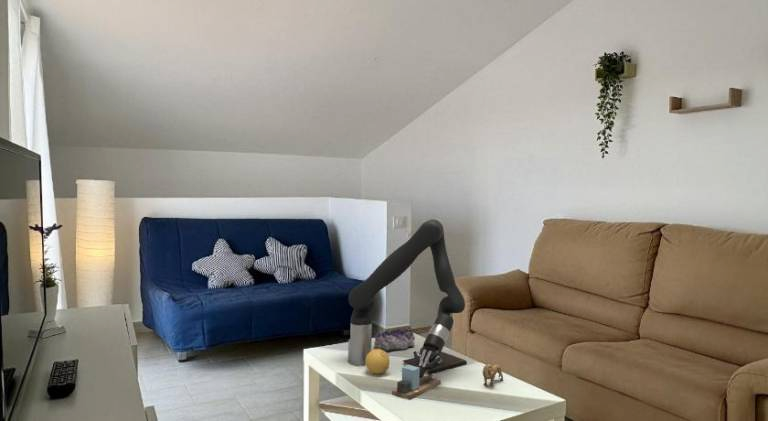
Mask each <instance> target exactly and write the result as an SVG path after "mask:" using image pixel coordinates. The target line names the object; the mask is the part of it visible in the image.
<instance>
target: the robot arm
mask: <svg viewBox="0 0 768 421" xmlns="http://www.w3.org/2000/svg"><path fill="white" fill-rule="evenodd" d="M428 248H429V249H430V250H431V256H432V261H433V270H434V274H435V278H436V282H437V285H438V289H439V290H440V292H442V293H445V294H446V295H447V296H444V297H443V298H442V299H441V300H440V302H439V304H438V310H437V315H436V319H435V320H434V323H433V324H432V326H431V328H430V329H429V332H428V333H427V335H426V337H425V340H424V342H423V345H422V347H420V349H419V350H418V351H415V350H414V351H413V352H412V353H413V358H415V362H416V364H417V366H418V367H419V368H420V373H419V378H422V377H423V376H425V375H426V374H425V372H426V370H428V369H429V370H432V369H433V368H435V367H436V366H438V365H439V364H441V363H442V362H443V361H442V359H441V358H440V357H439V356H440V353H441V351H442V350H443V349H444V347H445V345H446V342H447V340H448V338H449V335H450V332H451V330H452V327H453V325H454V319H453V317H452V316H451V314H459V313H462V312H463V311H465V308H466V301H465V298H464V295H463V294H462V292H461V290H460V289H459V287H458V285H457V283H456V281H455V280H456V279H455V276H454V274H453V269H452V267H451V263H450V260H449V257H448V253H447V252H448V251H447V247H446V240H445V232H444V226H443V224H442V223H441V222H440V221H439V220H437V219H435V218H434V219H429V220H426V221H424V222H423V223H422V224H421V225H420V226H419V227H418V229H417V230H416V231H415V233H414V234H413V235H412V236H411V237H410V238H409V239H408V240H407V241H406V242H405V243H403V244H401V245H400V246H399V247H398V248H396V249H394V251H392V252H391V254H389V255H388V256H387V257H386V258H385V259H384V260H383V261H382V262H380V264H379V265H378V266H377V267H376V269H375V270H374V271H373V272H372V273H371V274H370V275H369V276H368V277H367V278H366V279H364V280H363V282H361V283H360V284H359V285H357V286H356V287H354V288H353V289H351V291H350V292H349V295H348V303H349V305H350V307H351V308H353V310H352V314H351V316H350V330H349V331H350V332H349V333H350V338H349V339H348V343H347V344H348V346H347V347H348V348H347V351H348V352H347V361H348V362H349V363H350V364H351V365H354V366H366V363H365V360H366V356H367V355H368V353H369V352H370V351H372V347H373V346H372V344H373V343H372V342H373V341H372V339H373V338H372V337H373V317H374V313H375V296H376V295H377V294H378V293H379V292H380V291H382V289H384V288H386V287H387V286H388V285H390V284H392V283H393V282H394V281H395V280H397V279H398V278H399V277H400V276H402V274H404V272H406V271H407V270H408V269H409V268H410V267H411V265H412V264H413V263H414V262H415V261H416V260H417V258H418V257H419V256H420V254H422V253H423V252H424V251H425V250H427V249H428ZM442 352H443V351H442ZM420 356H421V359H419V358H420Z"/></svg>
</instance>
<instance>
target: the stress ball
mask: <svg viewBox="0 0 768 421" xmlns="http://www.w3.org/2000/svg"><path fill="white" fill-rule="evenodd" d="M365 363H366V365H365V367H366V369H367V371H369V372H370V373H371V374H375V375H382V374H385V373H386V372H387V371H388V370H389V368H390V367H389V366H390V364H391V363H390V356H389V354H388V352H387V351H384V350H381V349H377V348H374V349H371V351H370V352H369V353H368V355H367V356H366V360H365Z"/></svg>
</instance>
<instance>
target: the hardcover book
mask: <svg viewBox="0 0 768 421" xmlns="http://www.w3.org/2000/svg"><path fill="white" fill-rule="evenodd" d="M439 357H440V358H441V359H442V361H443V362H442V363H441V364H439V365H438V366H436V367H435V368H433V369H432V370H429V369H428V370H426V372H425V374H424V375H426V376H428V375H430V374H432V375H434V374H438V373H441V372H444V371H448V370H452V369H455V368H459V367H462V366H463V367H464V366H467V364H468V362H467V360H466V359H463V358H461V357H458V356H455V355H452V354H449V353H447V352H443V351H441V353H440V356H439ZM419 359H421V355H420V358H419ZM402 362H403V366H406V365H411V366H415V367H418V366H417V364H416V362H415V358H414V357H411V358H408V359H403V360H402Z"/></svg>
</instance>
